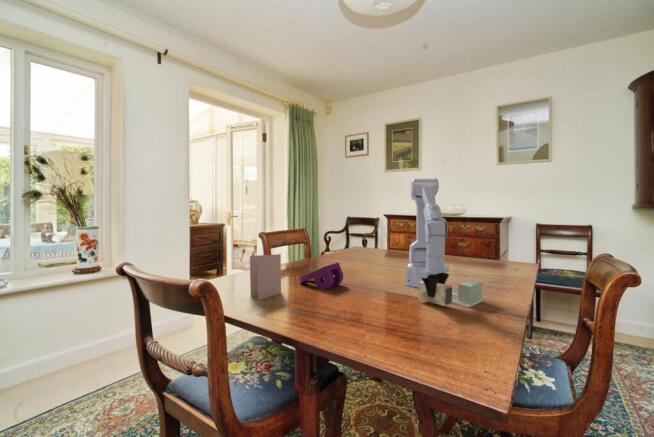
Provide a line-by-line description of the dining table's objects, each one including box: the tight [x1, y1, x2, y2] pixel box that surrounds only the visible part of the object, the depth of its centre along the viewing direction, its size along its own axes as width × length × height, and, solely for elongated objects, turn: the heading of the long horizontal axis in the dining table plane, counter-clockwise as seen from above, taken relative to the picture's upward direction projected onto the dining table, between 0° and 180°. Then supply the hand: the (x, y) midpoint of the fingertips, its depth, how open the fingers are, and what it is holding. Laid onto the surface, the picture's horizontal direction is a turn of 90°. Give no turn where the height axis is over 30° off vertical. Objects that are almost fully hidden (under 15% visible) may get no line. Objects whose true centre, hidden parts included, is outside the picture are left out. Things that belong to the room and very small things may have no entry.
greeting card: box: [249, 253, 282, 301], centre depth 117 cm, size 11×7×15 cm, turn 108°
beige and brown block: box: [417, 281, 453, 307], centre depth 107 cm, size 10×4×6 cm, turn 41°
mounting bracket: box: [298, 262, 344, 290], centre depth 134 cm, size 9×8×18 cm
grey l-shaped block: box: [451, 279, 483, 308], centre depth 114 cm, size 17×10×7 cm, turn 41°
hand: (434, 295), depth 108 cm, fingers closed on beige and brown block, 4 cm apart
